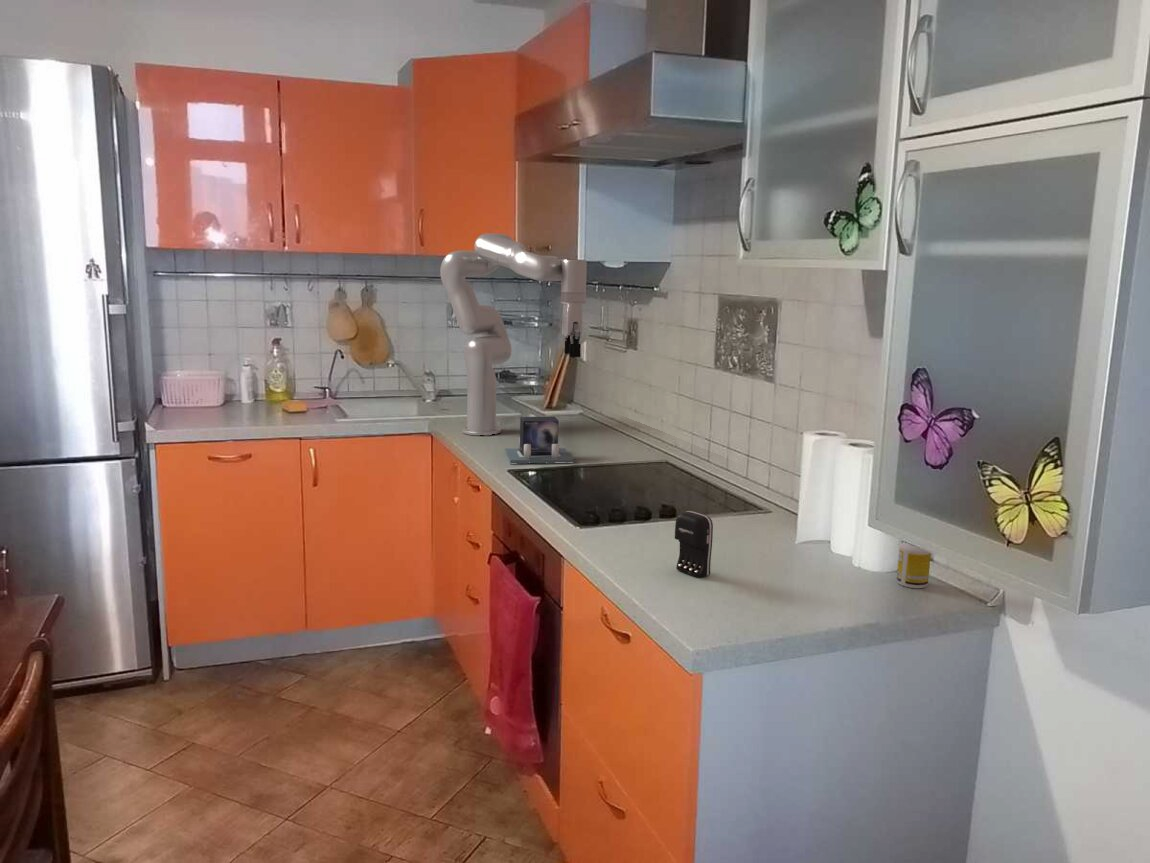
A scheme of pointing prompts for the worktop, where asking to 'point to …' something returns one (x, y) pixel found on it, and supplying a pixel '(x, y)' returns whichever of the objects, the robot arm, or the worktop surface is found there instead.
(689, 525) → the battery charger
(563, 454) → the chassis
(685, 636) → the worktop surface
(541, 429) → the small box
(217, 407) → the worktop surface
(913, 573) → the supplement bottle
